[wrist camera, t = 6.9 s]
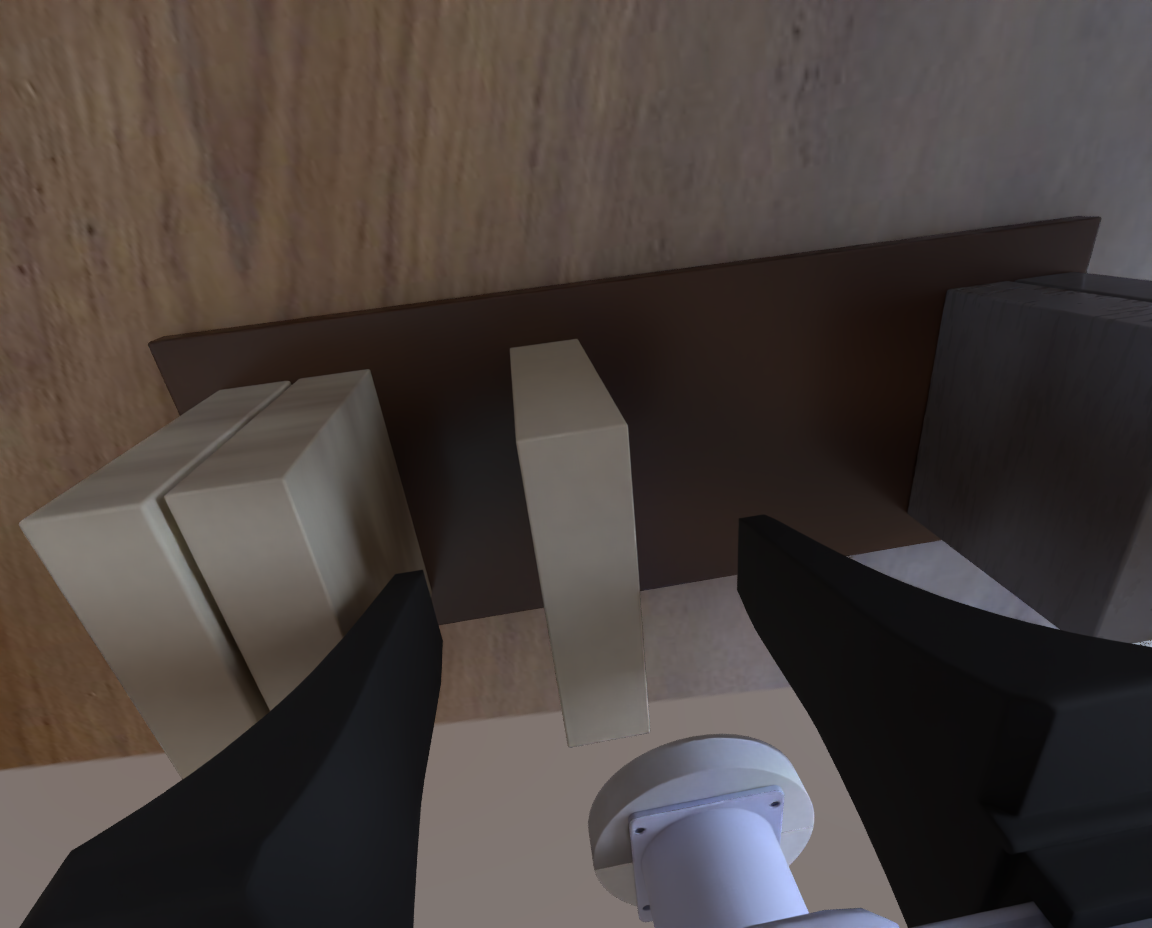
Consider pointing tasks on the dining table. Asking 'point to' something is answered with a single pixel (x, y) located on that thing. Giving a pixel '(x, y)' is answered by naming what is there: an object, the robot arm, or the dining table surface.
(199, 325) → the dining table surface
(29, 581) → the dining table surface
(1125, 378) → the book rack
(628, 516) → the beige flat block
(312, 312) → the dining table surface
